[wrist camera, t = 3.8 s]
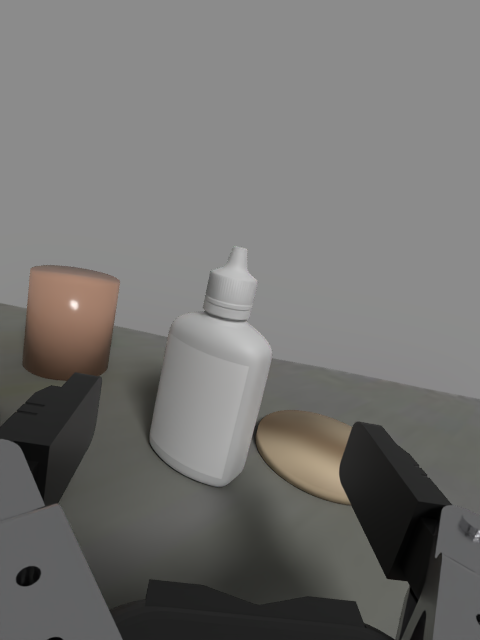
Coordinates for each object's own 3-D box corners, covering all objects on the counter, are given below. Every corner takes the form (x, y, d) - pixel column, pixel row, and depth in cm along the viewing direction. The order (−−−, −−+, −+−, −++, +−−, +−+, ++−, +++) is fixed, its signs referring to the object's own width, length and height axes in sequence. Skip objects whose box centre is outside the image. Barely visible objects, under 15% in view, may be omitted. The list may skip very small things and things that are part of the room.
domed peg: (78, 388, 26) (91, 290, 24) (2, 365, 26) (9, 268, 25) (121, 361, 31) (133, 281, 30) (57, 343, 32) (66, 263, 30)
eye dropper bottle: (174, 501, 18) (228, 250, 15) (142, 433, 22) (178, 232, 19) (251, 485, 20) (311, 265, 17) (207, 427, 24) (249, 246, 22)
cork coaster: (409, 526, 19) (413, 517, 19) (245, 474, 21) (247, 464, 20) (378, 439, 28) (381, 432, 28) (264, 405, 29) (265, 398, 29)
